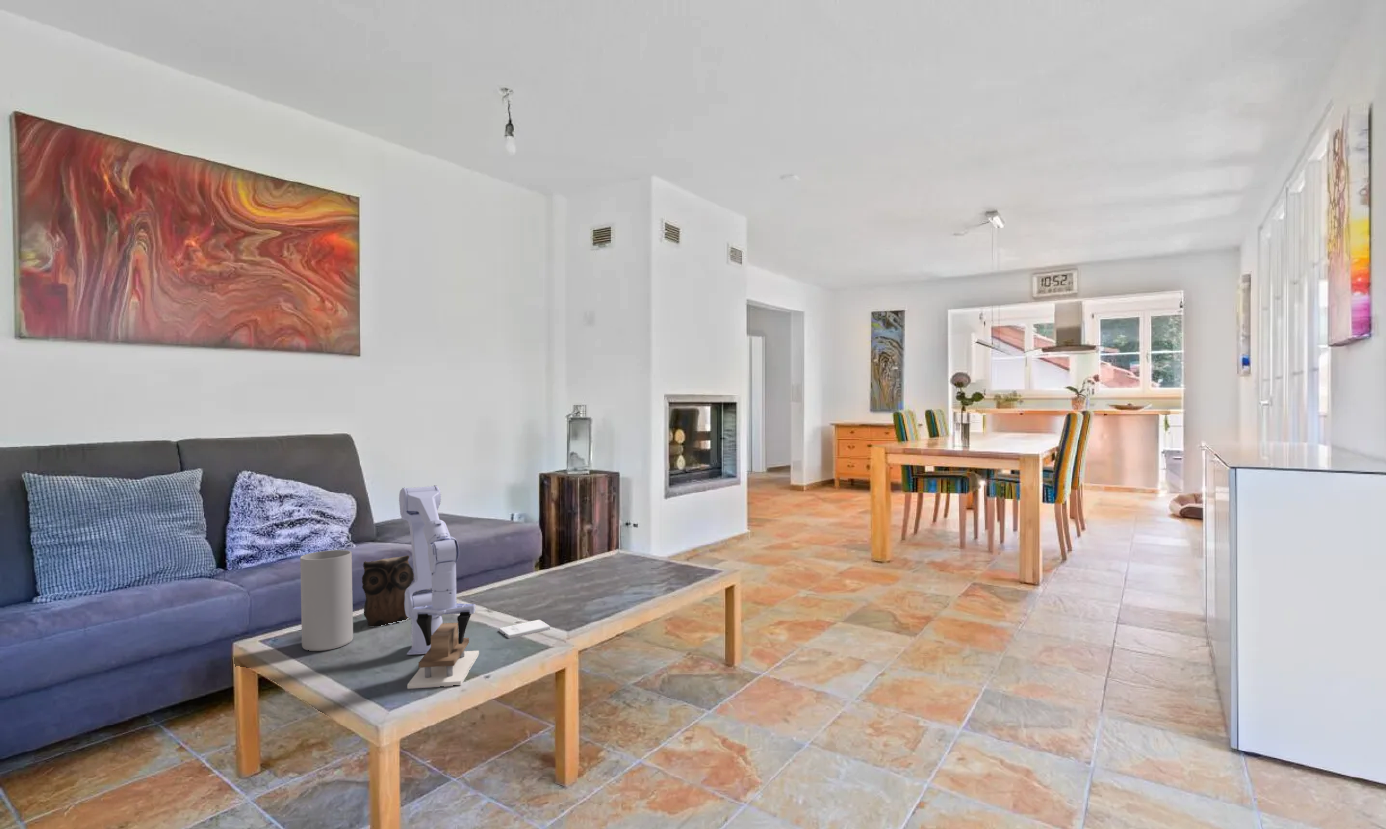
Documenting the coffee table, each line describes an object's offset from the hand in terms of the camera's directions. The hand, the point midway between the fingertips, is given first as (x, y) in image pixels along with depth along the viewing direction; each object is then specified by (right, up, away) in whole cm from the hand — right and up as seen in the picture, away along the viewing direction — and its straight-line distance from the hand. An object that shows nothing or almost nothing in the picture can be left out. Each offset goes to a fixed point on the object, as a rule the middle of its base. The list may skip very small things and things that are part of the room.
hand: (445, 643), depth 163 cm
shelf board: (0, -3, 0) cm, 3 cm away
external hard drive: (+12, -7, +30) cm, 33 cm away
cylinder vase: (-41, -8, +20) cm, 46 cm away
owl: (-33, -7, +41) cm, 53 cm away
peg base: (0, -7, 0) cm, 7 cm away
